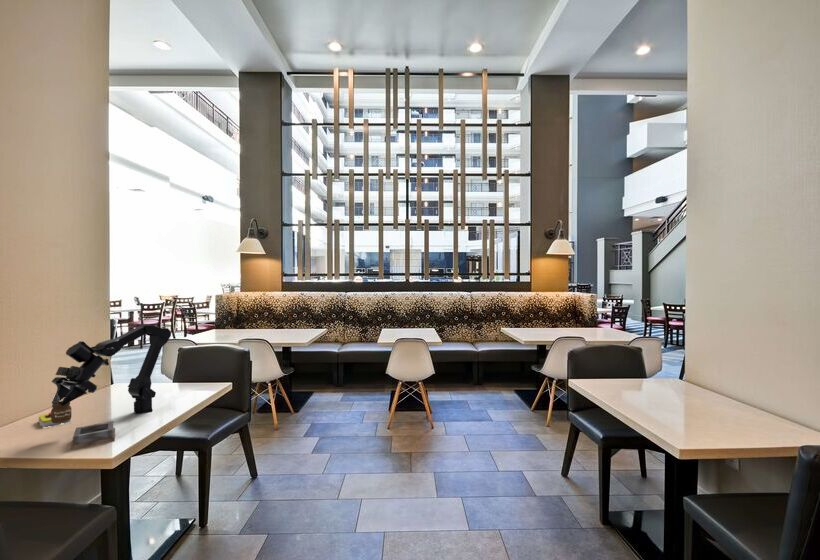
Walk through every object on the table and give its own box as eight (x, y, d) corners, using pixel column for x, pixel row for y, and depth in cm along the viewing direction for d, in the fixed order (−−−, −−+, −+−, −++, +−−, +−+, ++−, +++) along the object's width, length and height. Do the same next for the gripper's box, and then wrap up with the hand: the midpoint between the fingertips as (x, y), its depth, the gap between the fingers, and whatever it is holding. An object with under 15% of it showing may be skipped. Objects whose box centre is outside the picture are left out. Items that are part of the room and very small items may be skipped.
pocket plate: (115, 430, 158) (114, 420, 158) (114, 440, 148) (114, 429, 148) (74, 438, 151) (74, 427, 151) (71, 449, 141) (71, 437, 141)
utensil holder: (48, 421, 151) (48, 390, 151) (69, 416, 156) (69, 386, 156) (53, 424, 148) (52, 392, 148) (74, 419, 153) (74, 388, 153)
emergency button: (65, 406, 178) (72, 413, 169) (65, 416, 178) (72, 423, 169) (37, 412, 171) (42, 419, 162) (37, 422, 171) (43, 430, 162)
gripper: (56, 356, 159) (23, 391, 149) (87, 359, 153) (54, 396, 142) (79, 371, 166) (48, 406, 156) (109, 374, 160) (79, 410, 150)
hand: (57, 404), depth 151 cm, fingers closed on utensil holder, 5 cm apart
